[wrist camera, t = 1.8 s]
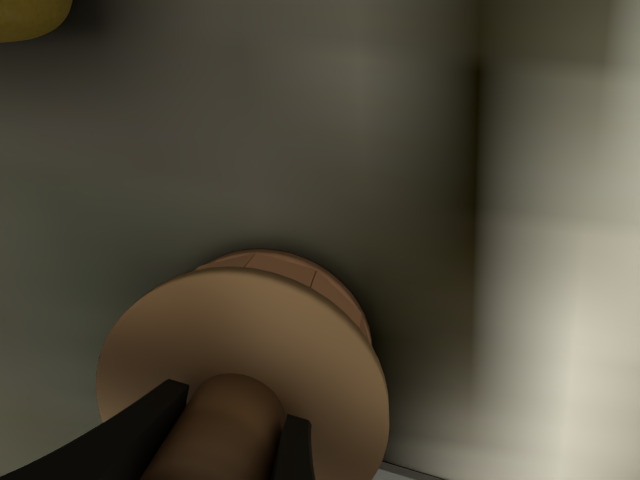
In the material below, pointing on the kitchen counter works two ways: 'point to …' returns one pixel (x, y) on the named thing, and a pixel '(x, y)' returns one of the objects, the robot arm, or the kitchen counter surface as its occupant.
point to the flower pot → (30, 18)
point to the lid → (248, 375)
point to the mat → (399, 473)
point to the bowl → (298, 277)
